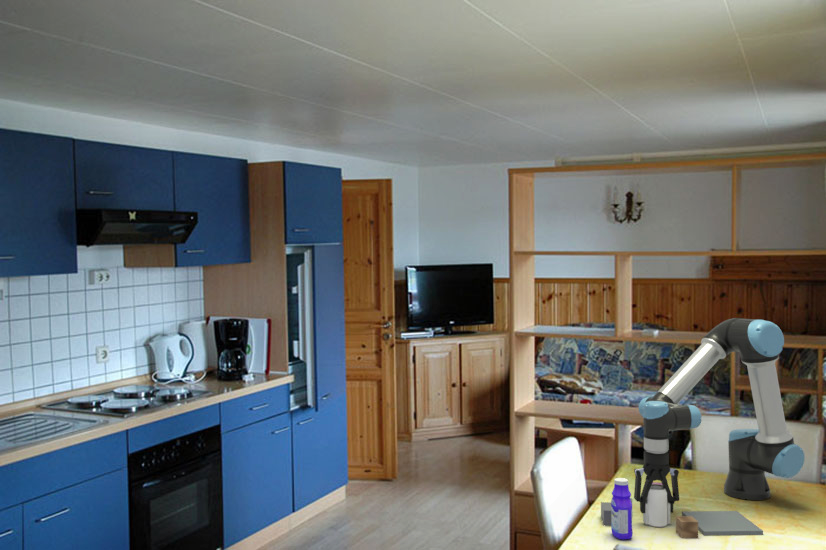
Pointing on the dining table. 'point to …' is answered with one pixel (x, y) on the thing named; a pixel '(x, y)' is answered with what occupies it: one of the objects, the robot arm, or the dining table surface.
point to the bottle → (621, 510)
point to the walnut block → (686, 527)
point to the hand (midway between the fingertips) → (656, 522)
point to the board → (723, 523)
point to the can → (657, 506)
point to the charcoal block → (606, 513)
